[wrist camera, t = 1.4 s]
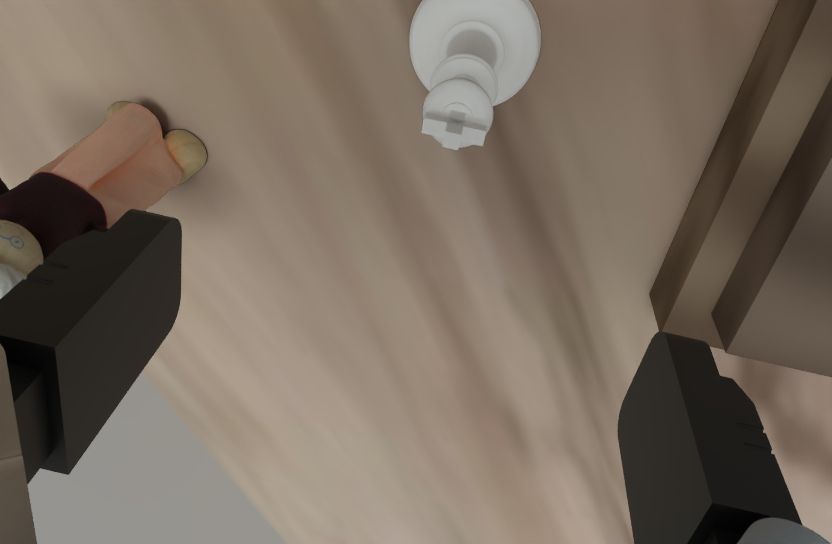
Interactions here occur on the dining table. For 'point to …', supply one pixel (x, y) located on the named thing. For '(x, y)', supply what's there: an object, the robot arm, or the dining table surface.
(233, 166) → the dining table surface
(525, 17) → the chess piece
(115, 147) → the grandmother figurine
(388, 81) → the dining table surface
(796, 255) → the walnut pedestal
